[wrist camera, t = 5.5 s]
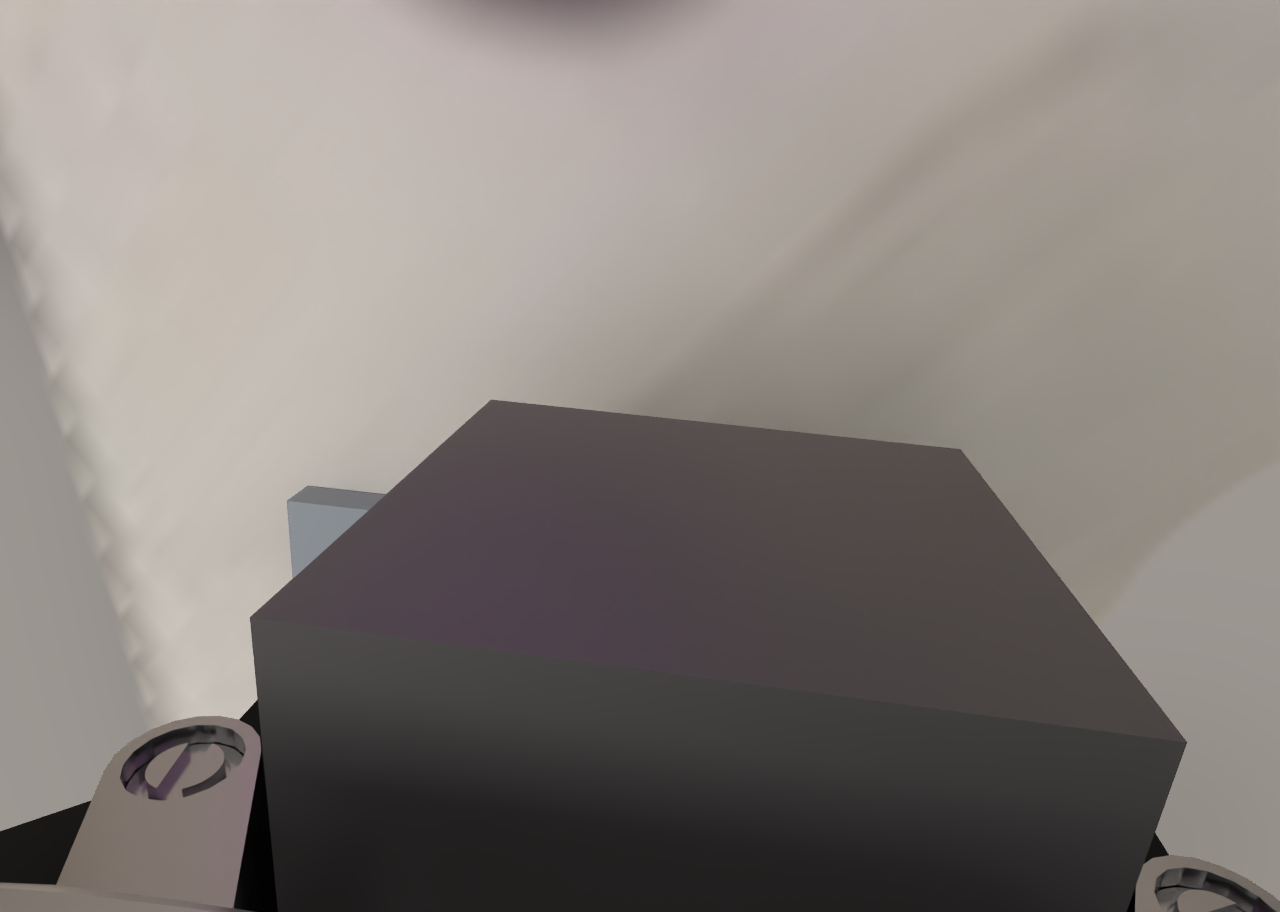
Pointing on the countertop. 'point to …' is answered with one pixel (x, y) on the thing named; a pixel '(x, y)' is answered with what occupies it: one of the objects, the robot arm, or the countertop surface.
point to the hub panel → (322, 520)
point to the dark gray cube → (697, 687)
